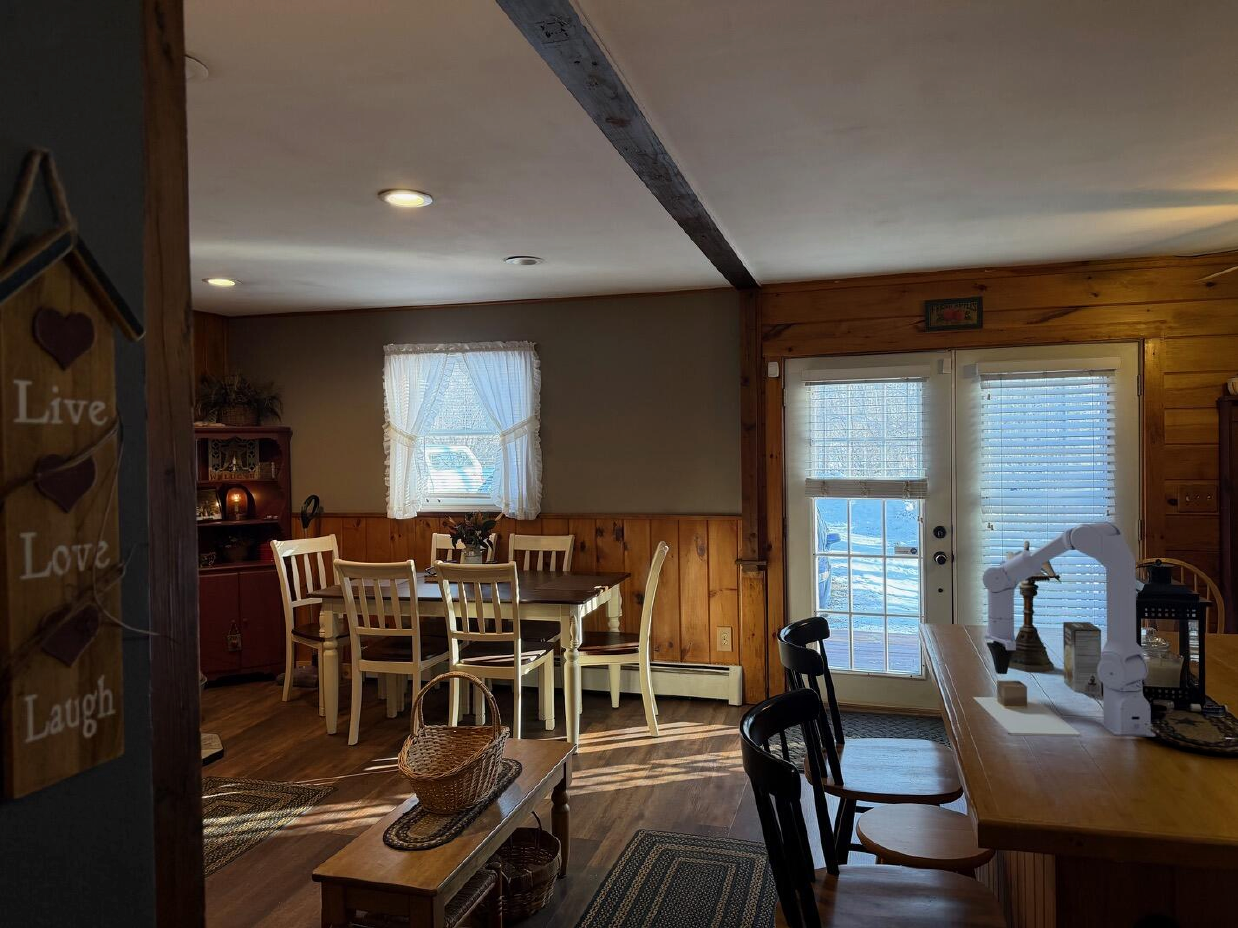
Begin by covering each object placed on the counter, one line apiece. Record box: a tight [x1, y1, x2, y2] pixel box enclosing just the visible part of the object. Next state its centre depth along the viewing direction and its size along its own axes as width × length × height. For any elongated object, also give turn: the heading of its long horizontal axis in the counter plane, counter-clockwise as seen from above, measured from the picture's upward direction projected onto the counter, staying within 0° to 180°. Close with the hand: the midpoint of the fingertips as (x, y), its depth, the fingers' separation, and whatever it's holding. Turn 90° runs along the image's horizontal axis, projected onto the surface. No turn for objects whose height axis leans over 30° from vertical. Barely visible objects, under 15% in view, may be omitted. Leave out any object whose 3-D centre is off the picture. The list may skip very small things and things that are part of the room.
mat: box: [972, 696, 1082, 738], centre depth 190 cm, size 26×14×1 cm, turn 173°
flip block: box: [996, 680, 1028, 708], centre depth 197 cm, size 5×5×5 cm
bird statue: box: [1004, 540, 1062, 673], centre depth 230 cm, size 17×13×35 cm
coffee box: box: [1062, 621, 1102, 696], centre depth 210 cm, size 9×6×16 cm
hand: (1001, 673), depth 204 cm, fingers closed
